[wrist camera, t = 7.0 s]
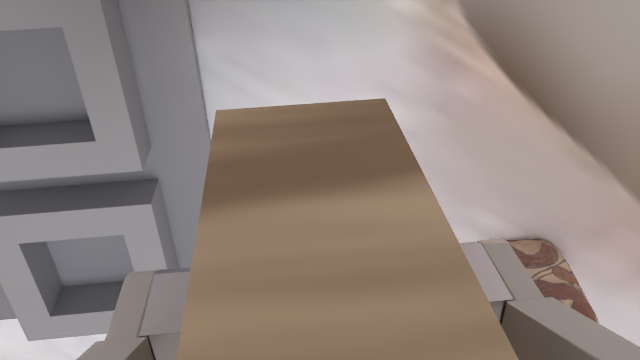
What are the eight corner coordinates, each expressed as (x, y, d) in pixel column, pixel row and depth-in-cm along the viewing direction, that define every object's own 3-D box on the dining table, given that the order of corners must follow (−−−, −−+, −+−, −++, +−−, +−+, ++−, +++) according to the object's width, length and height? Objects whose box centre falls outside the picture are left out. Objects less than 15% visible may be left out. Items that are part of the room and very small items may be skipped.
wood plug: (216, 110, 12) (165, 429, 6) (385, 98, 13) (534, 388, 6) (236, 243, 14) (217, 591, 8) (380, 230, 15) (483, 554, 8)
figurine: (527, 219, 35) (638, 370, 24) (580, 270, 38) (698, 424, 28) (443, 281, 37) (513, 444, 27) (500, 325, 40) (581, 486, 30)
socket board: (-265, -29, 23) (-415, 5, 18) (179, -52, 24) (158, -26, 19) (-61, 314, 34) (-117, 395, 29) (234, 286, 35) (230, 359, 30)
